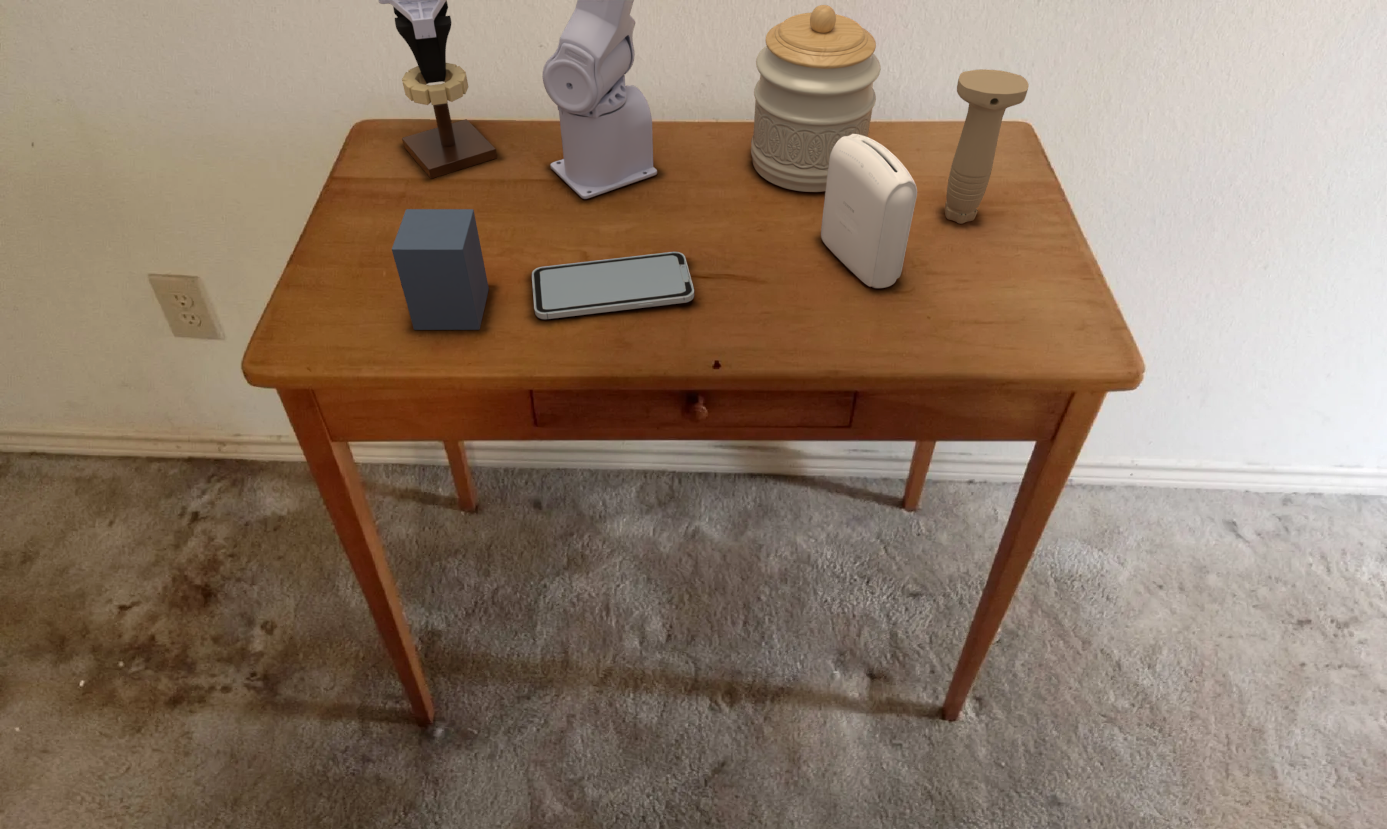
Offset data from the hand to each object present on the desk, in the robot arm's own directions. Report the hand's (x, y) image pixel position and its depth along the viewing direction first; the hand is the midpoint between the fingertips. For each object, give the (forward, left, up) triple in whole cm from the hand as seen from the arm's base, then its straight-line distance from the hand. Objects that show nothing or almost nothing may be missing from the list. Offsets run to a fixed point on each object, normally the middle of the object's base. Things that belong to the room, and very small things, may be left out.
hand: (434, 75), depth 101 cm
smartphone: (-2, +34, -8) cm, 35 cm away
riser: (+12, +29, -8) cm, 32 cm away
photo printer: (-25, +44, -8) cm, 51 cm away
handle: (-39, +44, -8) cm, 59 cm away
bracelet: (+1, +2, 0) cm, 2 cm away
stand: (+1, +2, -8) cm, 8 cm away
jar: (-32, +27, -8) cm, 43 cm away
